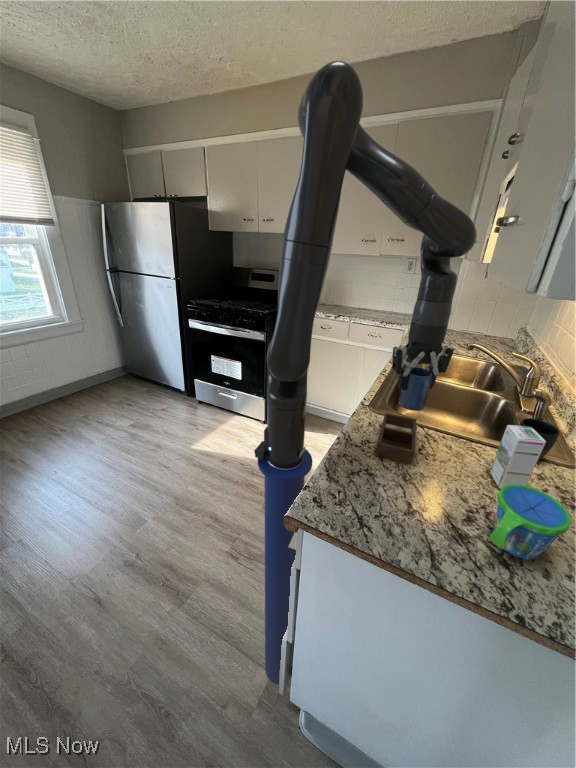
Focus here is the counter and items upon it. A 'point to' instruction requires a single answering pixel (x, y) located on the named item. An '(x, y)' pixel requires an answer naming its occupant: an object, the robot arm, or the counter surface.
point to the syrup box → (516, 456)
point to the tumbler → (416, 389)
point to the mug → (542, 433)
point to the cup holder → (397, 438)
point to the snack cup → (527, 521)
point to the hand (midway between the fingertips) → (414, 388)
